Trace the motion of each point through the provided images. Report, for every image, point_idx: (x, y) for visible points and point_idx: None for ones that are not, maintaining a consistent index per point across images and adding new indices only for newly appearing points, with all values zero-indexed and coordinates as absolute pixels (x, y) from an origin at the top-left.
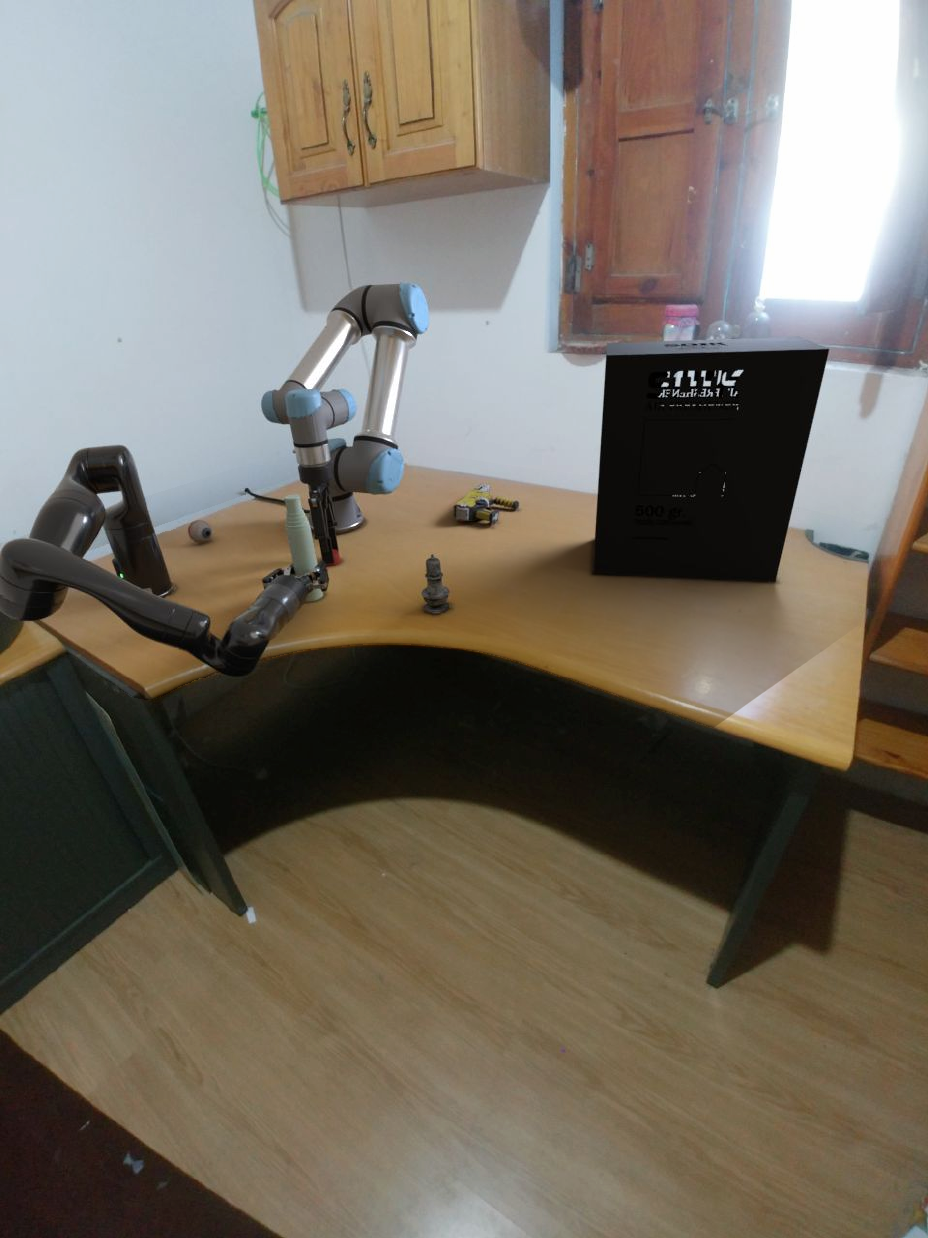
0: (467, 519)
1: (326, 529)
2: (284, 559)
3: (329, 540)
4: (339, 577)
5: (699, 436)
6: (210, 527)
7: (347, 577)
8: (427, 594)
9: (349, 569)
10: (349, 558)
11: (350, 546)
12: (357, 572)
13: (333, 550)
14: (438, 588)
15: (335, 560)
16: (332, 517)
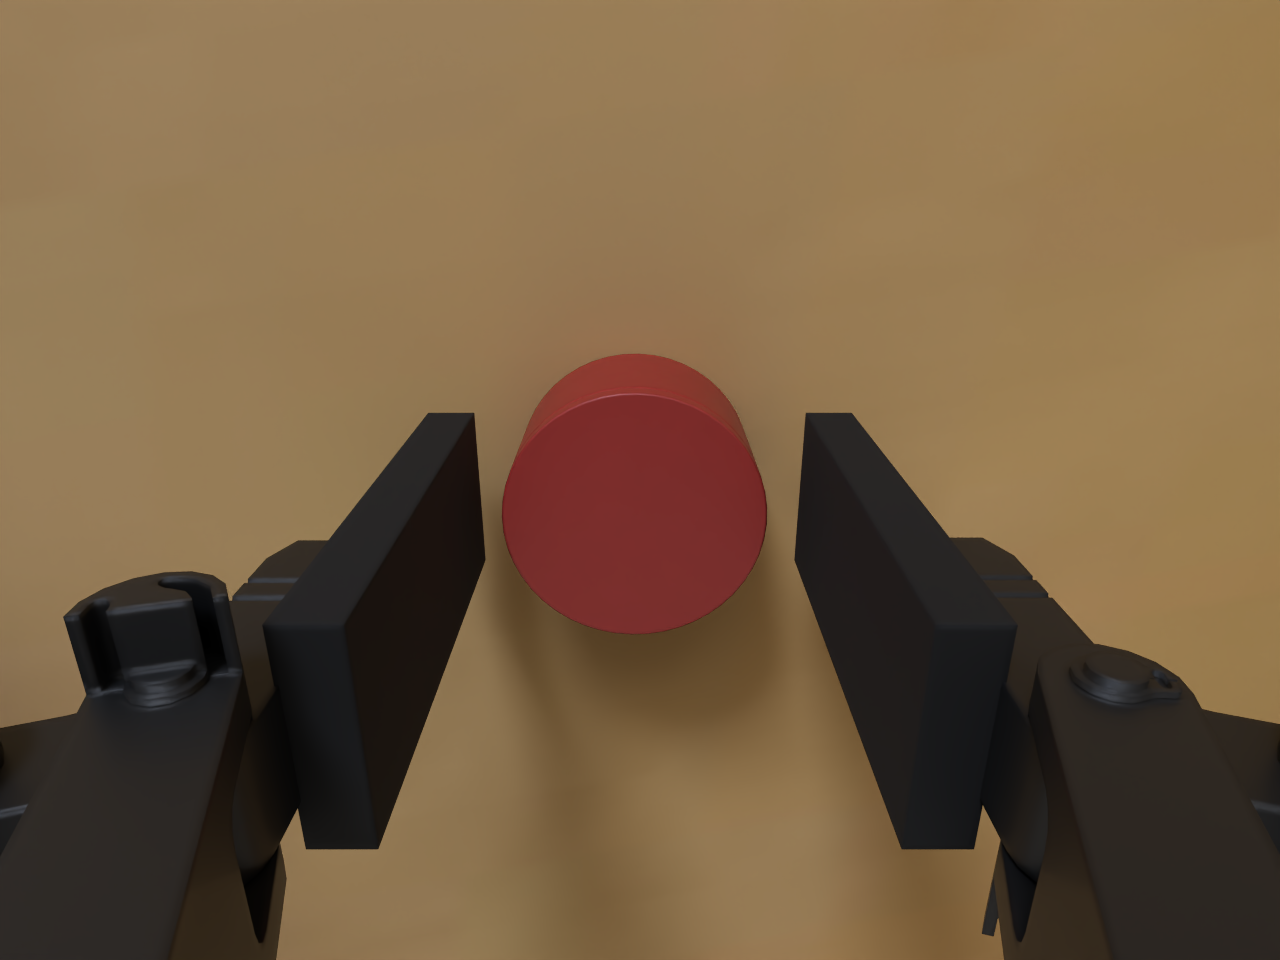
0: None
1: (1261, 845)
2: (494, 947)
3: (986, 603)
4: (1146, 280)
5: None
6: None
7: (1187, 161)
8: None
9: (917, 173)
10: (522, 235)
11: (79, 288)
12: (1060, 21)
13: (549, 486)
14: None
15: (730, 411)
16: (114, 845)
